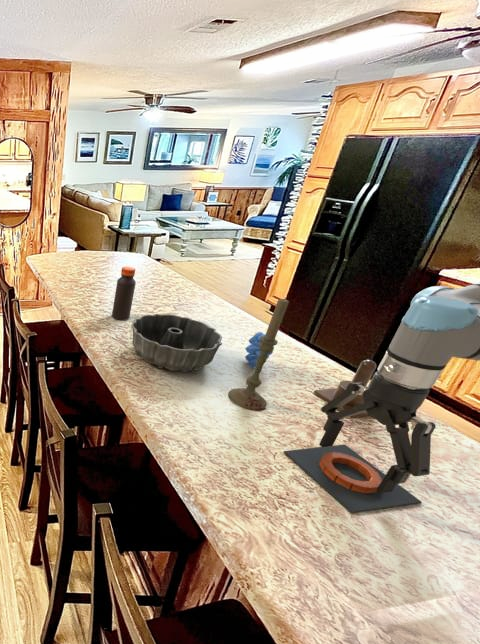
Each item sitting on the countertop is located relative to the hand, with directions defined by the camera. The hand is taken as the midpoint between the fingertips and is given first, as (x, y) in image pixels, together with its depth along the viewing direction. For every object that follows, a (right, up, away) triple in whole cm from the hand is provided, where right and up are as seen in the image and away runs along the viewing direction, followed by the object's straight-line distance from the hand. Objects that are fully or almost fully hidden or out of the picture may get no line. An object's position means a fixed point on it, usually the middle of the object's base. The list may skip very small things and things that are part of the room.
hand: (352, 466), depth 80 cm
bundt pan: (-19, +19, +45) cm, 52 cm away
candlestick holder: (-6, +9, +25) cm, 27 cm away
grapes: (+6, +16, +40) cm, 44 cm away
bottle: (-26, +33, +73) cm, 84 cm away
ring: (0, -2, +1) cm, 2 cm away
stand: (+21, +8, +24) cm, 33 cm away
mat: (0, -2, +1) cm, 3 cm away
